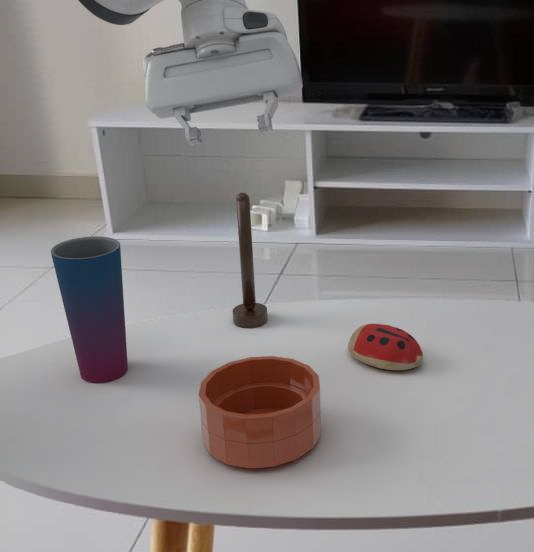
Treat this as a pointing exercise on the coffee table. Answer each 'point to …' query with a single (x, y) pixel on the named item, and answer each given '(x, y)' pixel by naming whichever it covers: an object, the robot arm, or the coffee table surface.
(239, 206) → the brown rod
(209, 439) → the bowl
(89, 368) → the cup
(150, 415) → the coffee table surface
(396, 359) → the ladybug figurine
